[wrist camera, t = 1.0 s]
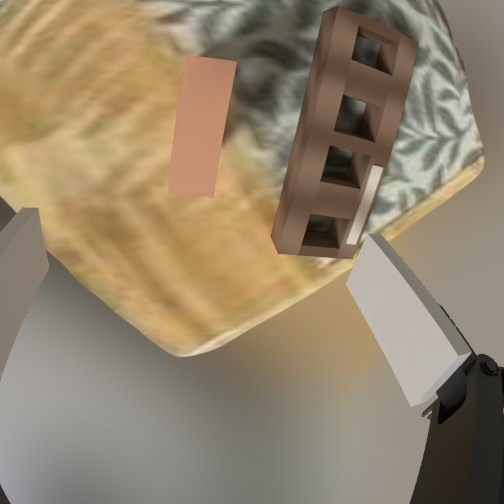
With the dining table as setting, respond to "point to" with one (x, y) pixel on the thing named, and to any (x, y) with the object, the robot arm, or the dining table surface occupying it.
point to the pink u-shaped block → (200, 125)
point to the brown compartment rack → (343, 136)
